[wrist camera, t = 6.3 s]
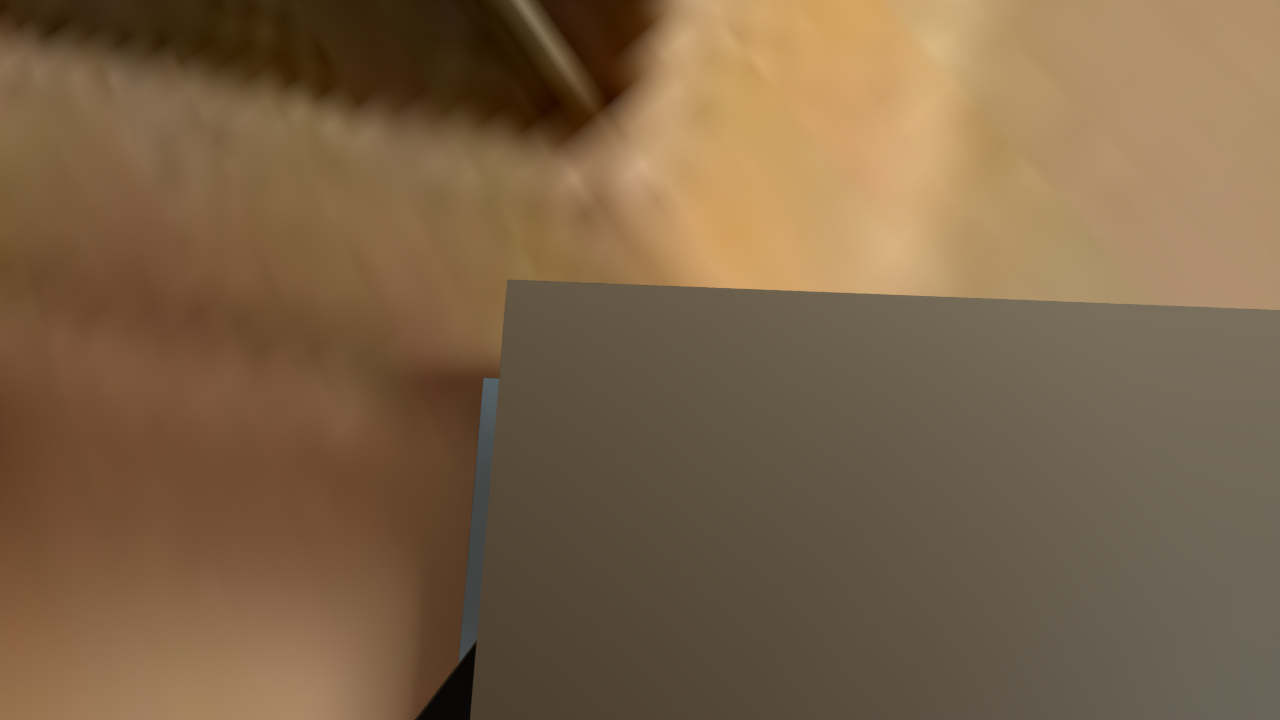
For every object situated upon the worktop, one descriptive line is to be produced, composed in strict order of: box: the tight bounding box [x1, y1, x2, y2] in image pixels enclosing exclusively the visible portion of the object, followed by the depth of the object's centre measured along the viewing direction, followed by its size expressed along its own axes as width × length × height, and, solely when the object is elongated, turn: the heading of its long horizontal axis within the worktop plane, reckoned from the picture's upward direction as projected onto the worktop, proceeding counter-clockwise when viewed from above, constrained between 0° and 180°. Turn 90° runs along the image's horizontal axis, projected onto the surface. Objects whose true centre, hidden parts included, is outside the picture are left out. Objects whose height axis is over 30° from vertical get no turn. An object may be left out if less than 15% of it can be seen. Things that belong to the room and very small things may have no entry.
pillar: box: [470, 280, 1280, 720], centre depth 9 cm, size 4×4×13 cm
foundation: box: [459, 378, 499, 662], centre depth 19 cm, size 11×11×3 cm
